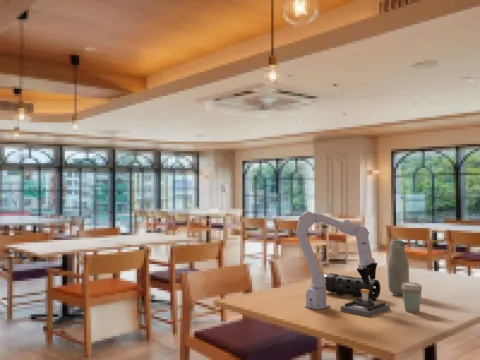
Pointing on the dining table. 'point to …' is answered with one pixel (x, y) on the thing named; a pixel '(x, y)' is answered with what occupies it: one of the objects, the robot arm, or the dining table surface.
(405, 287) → the coffee cup
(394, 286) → the grey bottle
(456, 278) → the dining table surface
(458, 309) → the dining table surface
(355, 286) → the muzzle brake
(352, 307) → the breaker panel
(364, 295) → the breaker lever
